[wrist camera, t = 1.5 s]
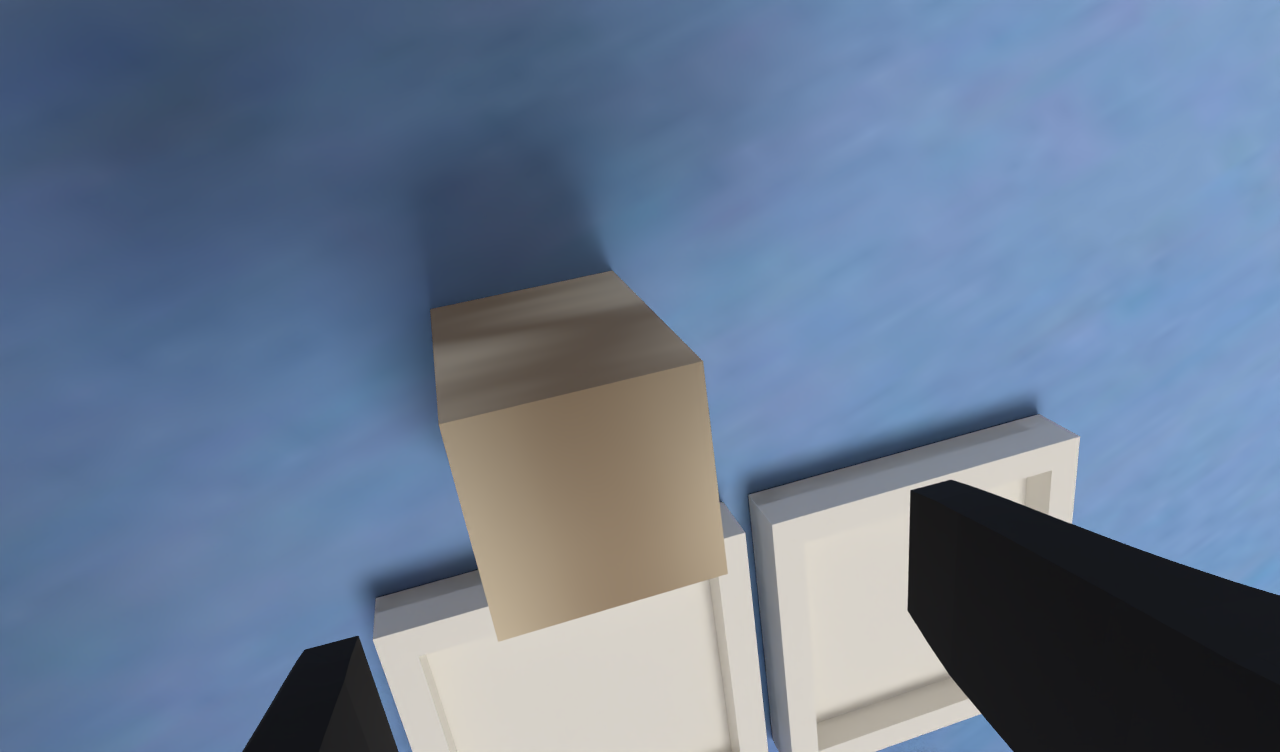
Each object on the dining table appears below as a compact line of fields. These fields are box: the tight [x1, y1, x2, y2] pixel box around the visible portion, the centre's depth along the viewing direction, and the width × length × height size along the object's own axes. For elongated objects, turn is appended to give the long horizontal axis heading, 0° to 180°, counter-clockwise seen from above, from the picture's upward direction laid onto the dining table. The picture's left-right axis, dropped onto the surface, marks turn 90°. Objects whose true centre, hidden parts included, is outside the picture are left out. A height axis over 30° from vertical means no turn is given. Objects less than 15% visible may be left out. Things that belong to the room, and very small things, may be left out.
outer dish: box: [748, 414, 1080, 752], centre depth 22 cm, size 9×9×2 cm
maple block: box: [430, 271, 728, 642], centre depth 15 cm, size 4×4×6 cm
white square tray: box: [373, 502, 768, 752], centre depth 20 cm, size 9×9×2 cm
